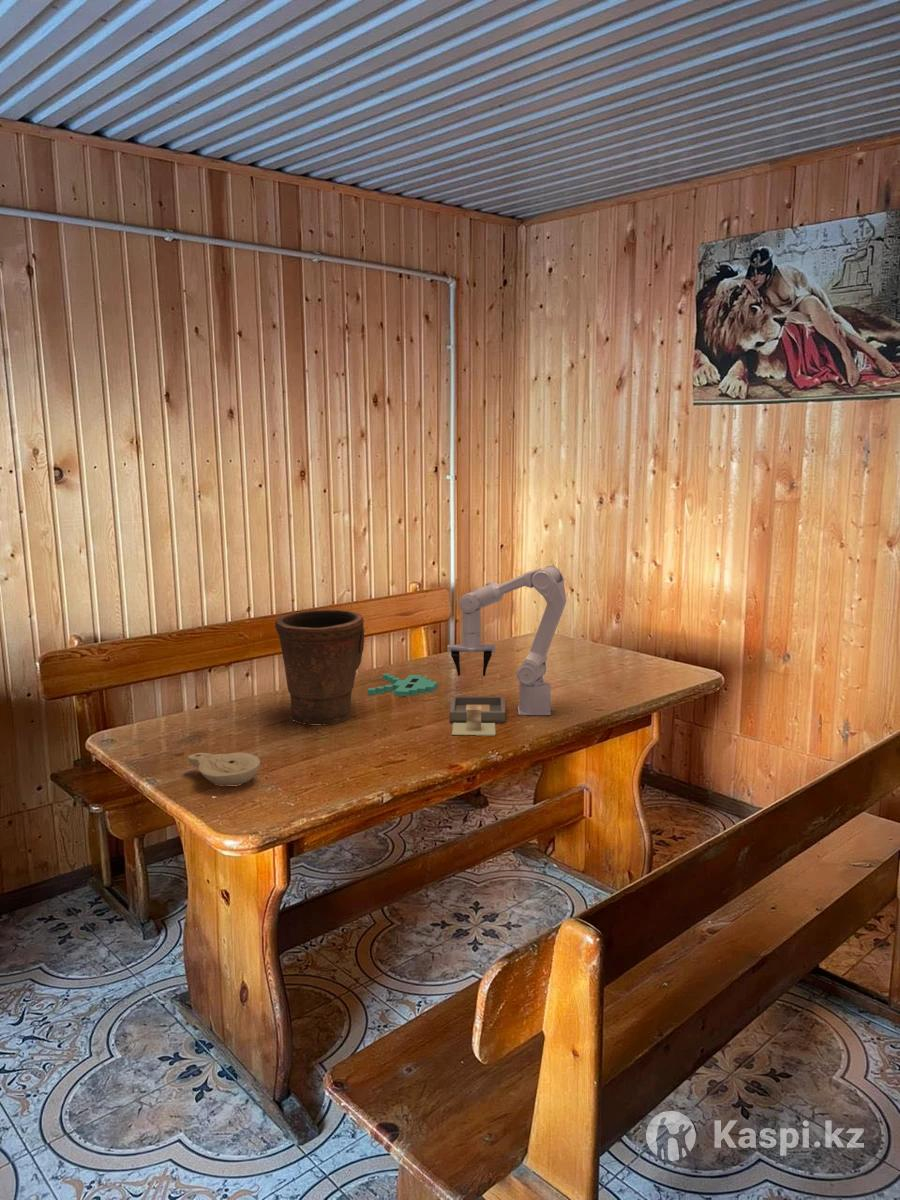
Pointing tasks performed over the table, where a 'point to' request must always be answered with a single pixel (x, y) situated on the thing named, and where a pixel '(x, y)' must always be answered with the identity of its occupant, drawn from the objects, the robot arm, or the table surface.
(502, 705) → the box
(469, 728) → the brown block
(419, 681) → the alien figure
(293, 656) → the clay pot
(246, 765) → the oil lamp
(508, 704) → the table surface
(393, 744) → the table surface
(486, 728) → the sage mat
